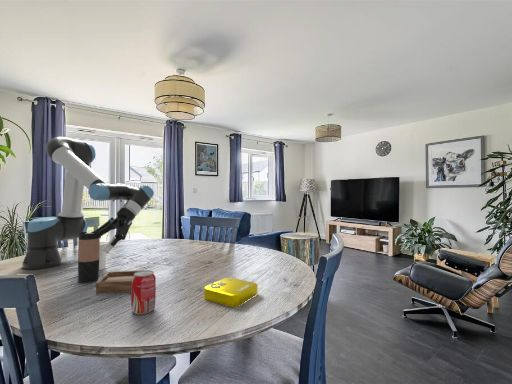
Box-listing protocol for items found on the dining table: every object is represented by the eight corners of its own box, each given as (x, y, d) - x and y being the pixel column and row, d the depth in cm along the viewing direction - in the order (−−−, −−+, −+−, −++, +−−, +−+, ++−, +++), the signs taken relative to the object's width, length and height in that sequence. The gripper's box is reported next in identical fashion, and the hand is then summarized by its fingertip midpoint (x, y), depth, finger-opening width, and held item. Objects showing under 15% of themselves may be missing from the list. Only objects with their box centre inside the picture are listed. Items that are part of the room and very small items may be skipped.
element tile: (235, 309, 88) (235, 295, 88) (201, 299, 96) (201, 286, 96) (259, 295, 101) (259, 282, 101) (227, 287, 109) (227, 275, 109)
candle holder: (78, 270, 127) (78, 244, 127) (97, 265, 136) (98, 241, 136) (92, 272, 123) (93, 246, 123) (111, 267, 132) (112, 242, 132)
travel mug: (88, 284, 108) (89, 234, 108) (72, 282, 110) (73, 233, 110) (103, 278, 116) (104, 231, 116) (88, 276, 117) (88, 230, 117)
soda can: (135, 306, 88) (136, 269, 88) (157, 306, 89) (158, 269, 89) (127, 316, 81) (127, 276, 81) (151, 315, 82) (152, 276, 82)
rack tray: (107, 281, 112) (107, 271, 112) (143, 279, 115) (143, 270, 115) (95, 294, 98) (96, 283, 98) (137, 291, 101) (137, 280, 101)
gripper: (151, 218, 123) (119, 258, 110) (118, 215, 135) (86, 251, 123) (140, 207, 118) (106, 248, 105) (108, 205, 131) (73, 241, 118)
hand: (95, 249), depth 114 cm, fingers open, 13 cm apart
